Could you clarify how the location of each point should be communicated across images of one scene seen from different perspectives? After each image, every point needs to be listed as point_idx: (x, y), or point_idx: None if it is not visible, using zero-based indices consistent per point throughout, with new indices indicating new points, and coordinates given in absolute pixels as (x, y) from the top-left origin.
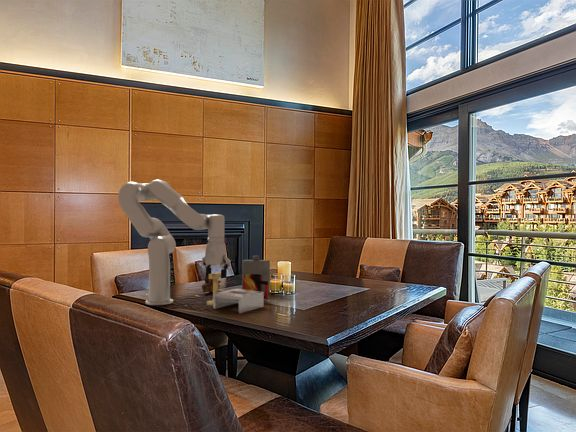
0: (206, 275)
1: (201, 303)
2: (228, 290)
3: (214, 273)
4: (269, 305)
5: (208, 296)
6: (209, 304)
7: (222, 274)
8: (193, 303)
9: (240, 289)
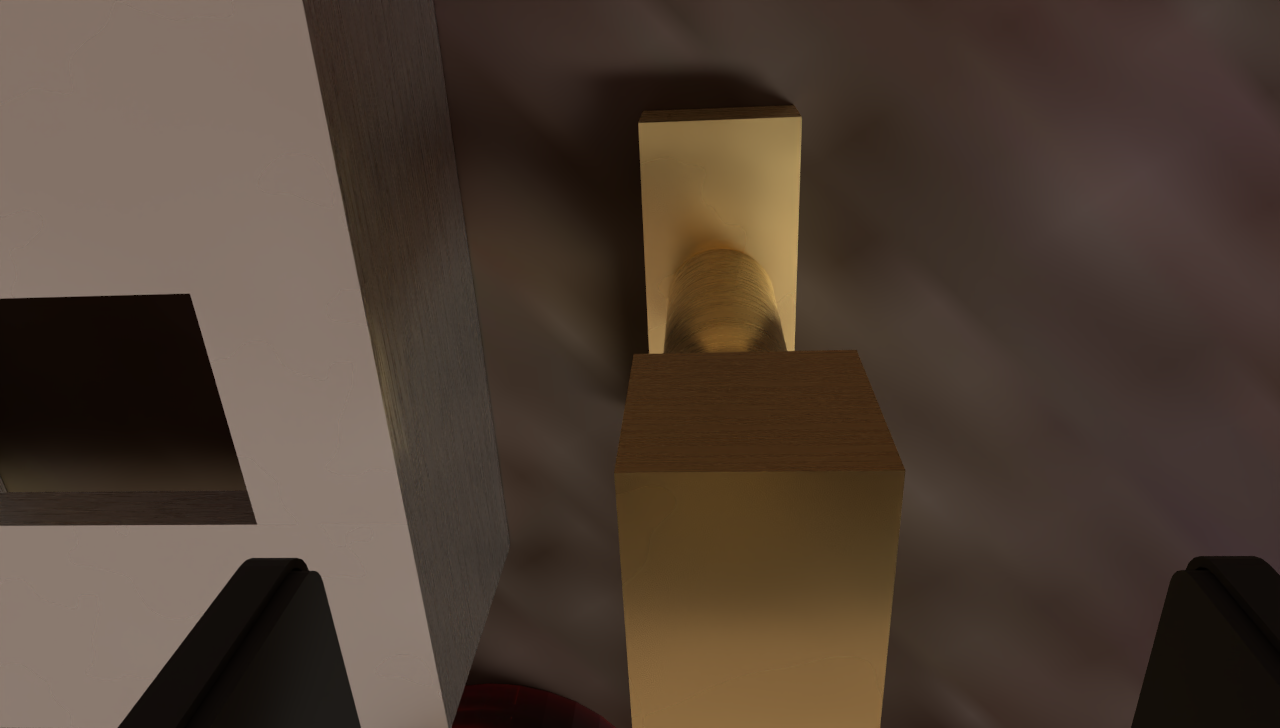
0: (1225, 575)
1: (988, 137)
2: (377, 487)
3: (742, 717)
4: None
5: None
6: (715, 109)
7: (184, 696)
8: (1149, 26)
9: None
